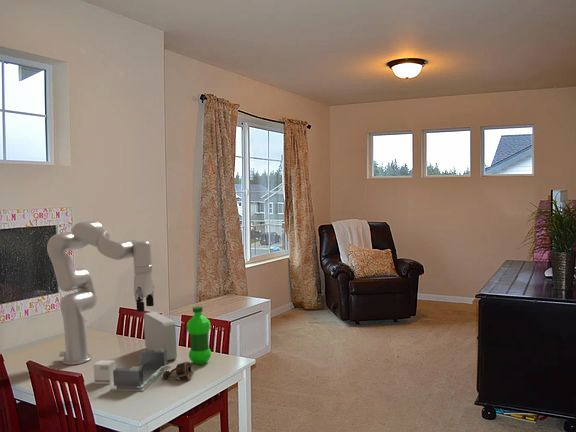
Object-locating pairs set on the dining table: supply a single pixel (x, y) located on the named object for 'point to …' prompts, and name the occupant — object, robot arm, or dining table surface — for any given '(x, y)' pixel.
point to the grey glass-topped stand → (141, 371)
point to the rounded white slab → (160, 333)
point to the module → (104, 372)
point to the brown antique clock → (180, 371)
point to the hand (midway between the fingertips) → (145, 308)
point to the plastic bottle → (199, 337)
